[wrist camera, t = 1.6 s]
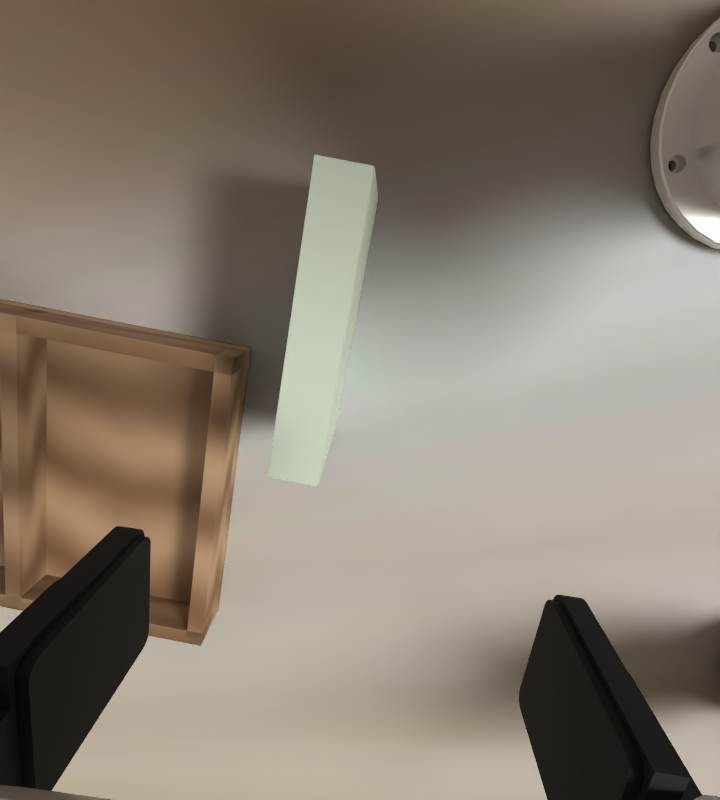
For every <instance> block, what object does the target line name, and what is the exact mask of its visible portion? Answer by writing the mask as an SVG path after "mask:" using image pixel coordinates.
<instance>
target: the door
mask: <svg viewBox="0 0 720 800" xmlns="http://www.w3.org/2000/svg"><path fill="white" fill-rule="evenodd" d="M378 199H379V198H378V190H377V182H376V173H375V166H372V165H367V164H362V163H356V162H351V161H346V160H341V159H336V158H331V157H326V156H320V155H315V154H314V160H313V167H312V174H311V181H310V188H309V195H308V202H307V209H306V215H305V222H304V229H303V236H302V243H301V250H300V257H299V264H298V270H297V277H296V284H295V291H294V298H293V305H292V312H291V319H290V325H289V332H288V339H287V346H286V353H285V360H284V367H283V374H282V380H281V387H280V394H279V401H278V408H277V415H276V422H275V429H274V435H273V442H272V449H271V456H270V463H269V470H268V477H272V478H277V479H282V480H287V481H292V482H297V483H302V484H307V485H313V486H318V483H319V480H320V477H321V474H322V471H323V467H324V464H325V461H326V458H327V455H328V452H329V449H330V445H331V442H332V439H333V436H334V433H335V430H336V427H337V422H338V416H339V411H340V405H341V400H342V395H343V389H344V384H345V378H346V373H347V367H348V362H349V356H350V351H351V346H352V340H353V335H354V329H355V324H356V318H357V313H358V307H359V302H360V297H361V291H362V286H363V280H364V275H365V269H366V264H367V259H368V253H369V248H370V242H371V237H372V231H373V226H374V220H375V215H376V210H377V204H378Z"/></svg>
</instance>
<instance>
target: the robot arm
mask: <svg viewBox="0 0 720 800" xmlns="http://www.w3.org/2000/svg"><path fill="white" fill-rule="evenodd" d="M709 47H710V48H709ZM710 49H711V50H710ZM650 151H651V169H652V173H653V178H654V182H655V186H656V190H657V192H658V194H659V196H660V198H661V201H662V203H663V205H664V207H665V209H666V210H667V212H668V213H669V214H670V216H671V217H672V218H673V219H674V221H675V222H676V223H677V225H678V226H679V227H681V228H682V229H683V230H684V231H685V232H687V233H688V234H689V235H690V236H692V237H693V238H694V239H696V240H698V241H700V242H702V243H704V244H706V245H708V246H710V247H712V248H715V249H720V17H719V18H718V19H717V20H716V21H714V22H713V23H712V24H711V25H710V26H709V27H708V28H707V29H706V30H705V31H704V32H703V33H702V34H701V35H700V36H699V37H698V38H697V39H696V40H695V41H694V42H693V43H692V44H691V45H690V47H689V48H688V50H687V51H686V52H685V54H684V55H683V57H682V58H681V59H680V61H679V62H678V64H677V65H676V66H675V68H674V70H673V72H672V74H671V76H670V78H669V80H668V82H667V84H666V86H665V88H664V89H663V91H662V94H661V97H660V100H659V103H658V107H657V110H656V113H655V116H654V120H653V127H652V134H651V141H650ZM668 163H670V164H671V170H669V168H668ZM150 555H151V540H150V538H149V537H145V535H144V531H143V530H141V529H135V528H129V527H123V526H116V527H115V528H113V529H112V530H111V531H110V532H109V533H108V534H107V535H106V536H105V537H104V538H103V539H102V540H101V541H100V542H99V543H98V544H96V545H95V546H94V547H93V548H92V549H91V550H90V551H89V552H88V553H87V554H86V555H85V556H84V557H83V558H82V559H81V560H80V561H79V562H77V563H76V564H75V565H74V566H73V567H72V568H71V569H70V570H69V571H68V572H67V573H66V574H65V575H64V576H63V577H62V578H61V579H59V580H57V581H56V582H54V583H53V584H52V585H50V586H49V587H48V588H47V589H46V590H45V591H44V592H43V593H42V594H41V595H40V596H39V597H38V598H37V599H36V600H35V601H33V602H32V603H31V604H30V605H29V606H28V607H27V608H26V609H25V610H24V611H23V612H22V613H21V614H20V615H19V616H17V617H16V618H15V619H14V620H13V621H12V622H11V623H10V624H9V625H8V626H7V627H6V628H5V629H4V630H3V631H2V632H0V800H111V799H104V798H97V797H90V796H83V795H76V794H69V793H61V792H54V791H51V790H52V789H53V787H54V786H55V784H56V783H57V781H58V780H59V778H60V777H61V775H62V773H63V772H64V770H65V769H66V767H67V766H68V764H69V763H70V761H71V759H72V758H73V756H74V755H75V753H76V752H77V750H78V749H79V747H80V745H81V744H82V742H83V741H84V739H85V738H86V736H87V735H88V733H89V731H90V730H91V728H92V727H93V725H94V724H95V722H96V721H97V719H98V718H99V716H100V714H101V713H102V711H103V710H104V708H105V707H106V705H107V704H108V702H109V700H110V699H111V697H112V696H113V694H114V693H115V691H116V690H117V688H118V686H119V685H120V683H121V682H122V680H123V679H124V677H125V676H126V674H127V672H128V671H129V669H130V668H131V666H132V665H133V663H134V662H135V660H136V658H137V657H138V655H139V654H140V652H141V651H142V649H143V647H144V646H145V643H146V641H147V638H148V633H149V605H150ZM519 703H520V709H521V713H522V716H523V719H524V723H525V726H526V729H527V732H528V736H529V739H530V742H531V746H532V749H533V752H534V756H535V759H536V762H537V766H538V769H539V772H540V776H541V779H542V782H543V786H544V789H545V792H546V796H547V799H548V800H720V797H717V796H709V795H703V796H702V794H701V792H700V791H699V789H698V787H697V786H696V784H695V782H694V781H693V779H692V777H691V776H690V774H689V772H688V771H687V769H686V767H685V766H684V764H683V762H682V761H681V759H680V757H679V756H678V754H677V752H676V751H675V749H674V747H673V746H672V744H671V742H670V740H669V739H668V737H667V735H666V734H665V732H664V730H663V729H662V727H661V725H660V724H659V722H658V720H657V719H656V717H655V715H654V714H653V712H652V710H651V709H650V707H649V705H648V704H647V702H646V700H645V699H644V697H643V695H642V694H641V692H640V690H639V688H638V687H637V685H636V683H635V682H634V680H633V678H632V677H631V675H630V674H629V673H628V672H627V670H626V668H625V667H624V665H623V663H622V662H621V660H620V658H619V657H618V655H617V653H616V652H615V650H614V648H613V647H612V645H611V643H610V641H609V640H608V638H607V636H606V635H605V633H604V631H603V630H602V628H601V626H600V625H599V623H598V621H597V620H596V618H595V616H594V614H593V613H592V611H591V609H590V608H589V606H588V604H587V603H586V601H585V600H584V599H582V598H576V597H570V596H563V595H556V596H555V597H554V599H553V600H548V601H547V602H546V604H545V606H544V610H543V613H542V616H541V620H540V623H539V627H538V630H537V633H536V637H535V640H534V644H533V647H532V650H531V654H530V657H529V661H528V664H527V667H526V671H525V674H524V677H523V681H522V684H521V688H520V692H519Z"/></svg>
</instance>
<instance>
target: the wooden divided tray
mask: <svg viewBox="0 0 720 800" xmlns="http://www.w3.org/2000/svg"><path fill="white" fill-rule="evenodd" d="M250 351H251V348H248V347H242V346H237V345H232V344H227V343H222V342H217V341H212V340H207V339H202V338H197V337H191V336H186V335H181V334H176V333H171V332H166V331H161V330H156V329H151V328H145V327H140V326H135V325H130V324H125V323H120V322H115V321H110V320H105V319H100V318H94V317H89V316H84V315H79V314H74V313H69V312H64V311H59V310H54V309H48V308H43V307H38V306H33V305H28V304H23V303H18V302H13V301H8V300H3V299H0V606H2V607H7V608H12V609H17V610H22V611H24V610H25V609H26V608H27V607H28V606H29V605H30V604H31V603H32V602H33V601H35V600H36V599H37V598H38V597H39V596H40V595H41V594H42V593H43V592H44V591H45V590H46V589H47V588H48V587H49V586H50V585H52V584H53V583H54V582H56V581H57V580H59V579H61V578H62V577H63V576H64V575H65V574H66V573H67V572H68V571H69V570H70V569H71V568H72V567H73V566H74V565H75V564H76V563H77V562H79V561H80V560H81V559H82V558H83V557H84V556H85V555H86V554H87V553H88V552H89V551H90V550H91V549H92V548H93V547H94V546H95V545H96V544H98V543H99V542H100V541H101V540H102V539H103V538H104V537H105V536H106V535H107V534H108V533H109V532H110V531H111V530H112V529H113V528H115V527H116V526H123V527H129V528H135V529H141V530H143V531H144V535H145V537H149V538H150V540H151V555H150V605H149V633H148V635H149V636H154V637H159V638H164V639H169V640H174V641H179V642H184V643H189V644H194V645H199V646H201V644H202V642H203V640H204V638H205V636H206V634H207V631H208V629H209V627H210V625H211V623H212V621H213V619H214V617H215V615H216V613H217V611H218V608H219V600H220V592H221V584H222V576H223V568H224V560H225V552H226V544H227V536H228V528H229V520H230V512H231V504H232V496H233V488H234V480H235V472H236V463H237V455H238V447H239V439H240V431H241V423H242V415H243V407H244V399H245V391H246V383H247V375H248V367H249V359H250Z"/></svg>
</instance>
